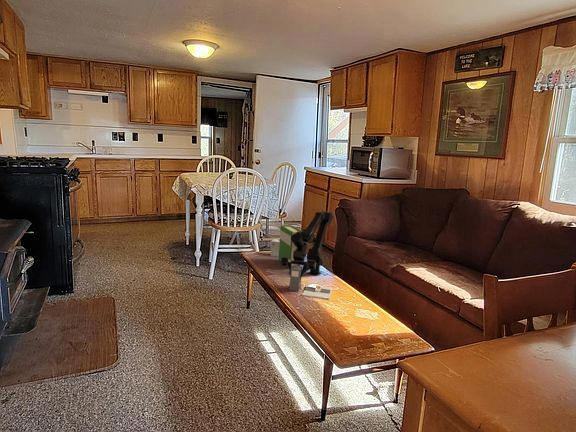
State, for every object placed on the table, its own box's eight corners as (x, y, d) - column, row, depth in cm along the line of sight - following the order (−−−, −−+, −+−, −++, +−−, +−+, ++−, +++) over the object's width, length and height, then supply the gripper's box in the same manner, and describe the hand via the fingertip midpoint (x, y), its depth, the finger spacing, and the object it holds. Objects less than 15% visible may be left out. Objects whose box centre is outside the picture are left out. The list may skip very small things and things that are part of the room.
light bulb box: (286, 254, 272) (287, 239, 270) (285, 257, 266) (286, 242, 264) (271, 253, 273) (272, 238, 271) (270, 256, 267) (271, 240, 265)
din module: (291, 286, 213) (293, 265, 210) (300, 287, 212) (302, 266, 209) (289, 290, 207) (290, 268, 205) (298, 291, 206) (300, 269, 204)
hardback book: (299, 268, 244) (302, 231, 240) (288, 269, 241) (291, 231, 237) (288, 260, 260) (291, 225, 256) (278, 260, 257) (280, 225, 253)
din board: (307, 285, 216) (307, 284, 216) (332, 288, 213) (332, 287, 213) (302, 295, 200) (302, 294, 200) (329, 299, 198) (329, 298, 197)
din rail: (306, 288, 209) (306, 286, 209) (330, 292, 206) (330, 289, 206) (305, 290, 207) (305, 287, 207) (330, 293, 204) (330, 291, 204)
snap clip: (316, 287, 207) (316, 285, 207) (320, 287, 207) (320, 286, 207) (315, 288, 206) (315, 286, 206) (320, 289, 205) (320, 287, 205)
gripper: (282, 242, 211) (276, 267, 202) (316, 246, 207) (311, 272, 198) (284, 252, 220) (279, 277, 211) (317, 256, 216) (313, 282, 207)
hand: (295, 277), depth 207 cm, fingers open, 5 cm apart
